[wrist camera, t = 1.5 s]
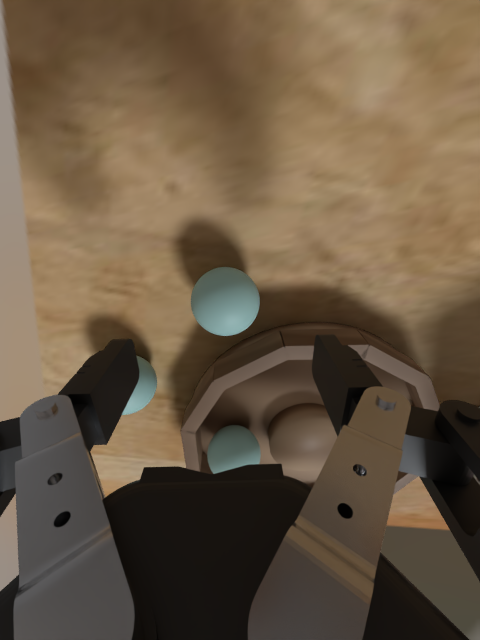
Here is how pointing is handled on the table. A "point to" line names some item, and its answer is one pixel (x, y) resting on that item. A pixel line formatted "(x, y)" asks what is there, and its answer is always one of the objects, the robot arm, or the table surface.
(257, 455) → the bead
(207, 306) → the bead
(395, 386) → the tray
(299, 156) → the table surface
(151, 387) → the bead
